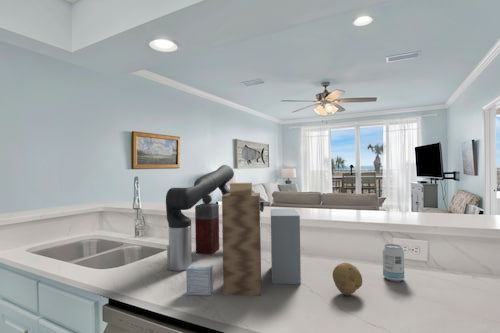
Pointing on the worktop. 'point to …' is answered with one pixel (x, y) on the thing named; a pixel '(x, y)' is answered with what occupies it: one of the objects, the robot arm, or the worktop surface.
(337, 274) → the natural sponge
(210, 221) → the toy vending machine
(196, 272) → the medicine box
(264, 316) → the worktop surface
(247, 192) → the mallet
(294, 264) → the short pedestal
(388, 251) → the beverage can
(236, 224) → the tall pedestal
